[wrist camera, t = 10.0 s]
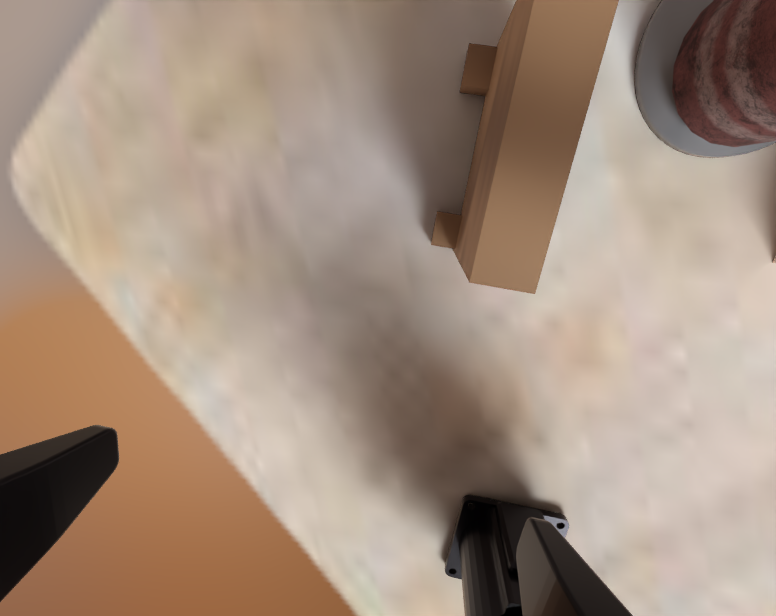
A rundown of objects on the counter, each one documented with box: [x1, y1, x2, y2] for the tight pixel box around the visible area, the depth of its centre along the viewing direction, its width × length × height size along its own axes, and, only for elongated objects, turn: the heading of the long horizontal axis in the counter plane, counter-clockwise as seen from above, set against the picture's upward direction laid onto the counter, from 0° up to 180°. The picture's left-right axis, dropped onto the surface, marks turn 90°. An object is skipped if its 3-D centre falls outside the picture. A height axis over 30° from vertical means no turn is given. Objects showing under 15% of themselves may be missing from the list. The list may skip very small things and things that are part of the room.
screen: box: [431, 0, 619, 294], centre depth 14 cm, size 9×4×8 cm, turn 172°
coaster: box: [635, 0, 776, 158], centre depth 15 cm, size 8×8×1 cm
